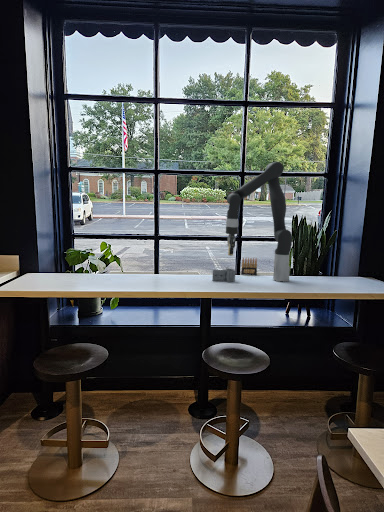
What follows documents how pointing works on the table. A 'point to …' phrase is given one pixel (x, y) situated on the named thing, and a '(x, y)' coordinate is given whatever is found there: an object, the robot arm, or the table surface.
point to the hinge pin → (229, 251)
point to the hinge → (224, 275)
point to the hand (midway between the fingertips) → (230, 253)
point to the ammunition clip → (249, 267)
